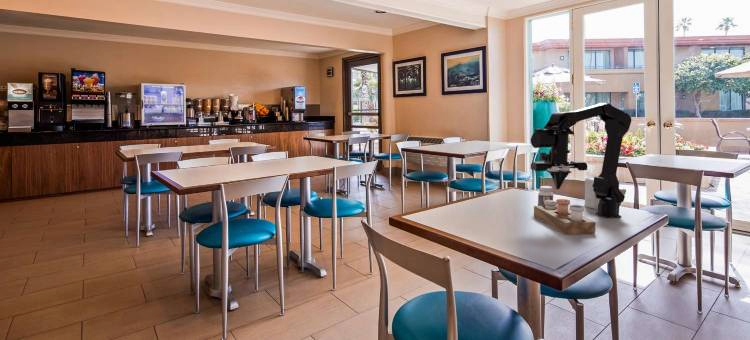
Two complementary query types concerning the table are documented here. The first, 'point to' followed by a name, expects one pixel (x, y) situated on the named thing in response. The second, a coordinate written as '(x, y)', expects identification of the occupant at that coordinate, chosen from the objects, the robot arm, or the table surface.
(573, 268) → the table surface
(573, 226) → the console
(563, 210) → the terracotta plug middle
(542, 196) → the pill bottle
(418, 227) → the table surface
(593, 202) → the skincare box
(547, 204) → the grey plug
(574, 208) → the grey plug
